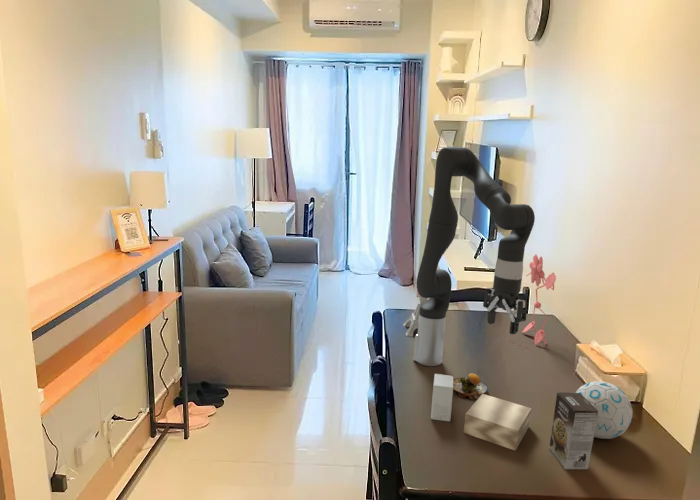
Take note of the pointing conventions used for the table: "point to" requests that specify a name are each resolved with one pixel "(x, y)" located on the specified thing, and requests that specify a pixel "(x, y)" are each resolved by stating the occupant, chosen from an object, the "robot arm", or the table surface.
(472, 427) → the maple block
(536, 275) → the pink flower figurine
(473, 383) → the plate of food
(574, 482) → the table surface
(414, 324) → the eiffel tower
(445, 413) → the small box
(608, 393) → the white soccer ball
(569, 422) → the coffee box
